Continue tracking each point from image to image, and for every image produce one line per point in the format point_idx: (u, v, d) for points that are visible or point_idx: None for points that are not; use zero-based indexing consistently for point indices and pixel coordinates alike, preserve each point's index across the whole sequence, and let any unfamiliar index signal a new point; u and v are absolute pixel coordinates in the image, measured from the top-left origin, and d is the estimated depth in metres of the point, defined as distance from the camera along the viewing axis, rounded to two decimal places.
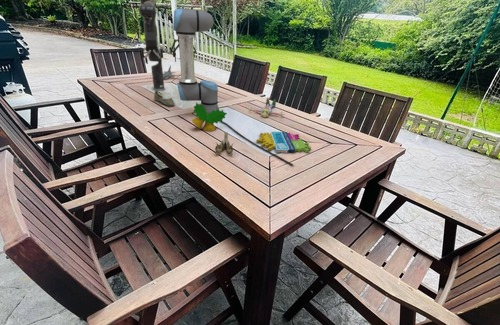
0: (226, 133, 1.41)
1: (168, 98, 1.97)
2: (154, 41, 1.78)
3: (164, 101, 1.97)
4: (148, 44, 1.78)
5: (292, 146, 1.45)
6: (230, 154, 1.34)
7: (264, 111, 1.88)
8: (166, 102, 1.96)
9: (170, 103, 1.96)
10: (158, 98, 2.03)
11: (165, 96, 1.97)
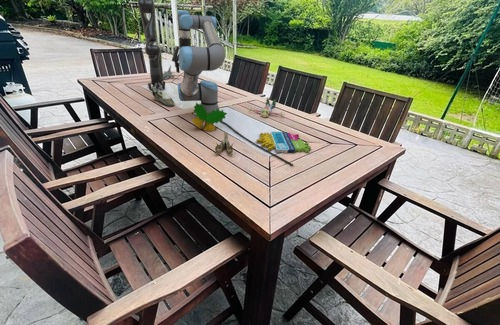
0: (226, 133, 1.41)
1: (168, 98, 1.97)
2: (160, 75, 2.00)
3: (164, 101, 1.97)
4: (156, 78, 1.98)
5: (292, 146, 1.45)
6: (230, 154, 1.34)
7: (264, 111, 1.88)
8: (166, 102, 1.96)
9: (170, 103, 1.96)
10: (158, 98, 2.03)
11: (165, 96, 1.97)
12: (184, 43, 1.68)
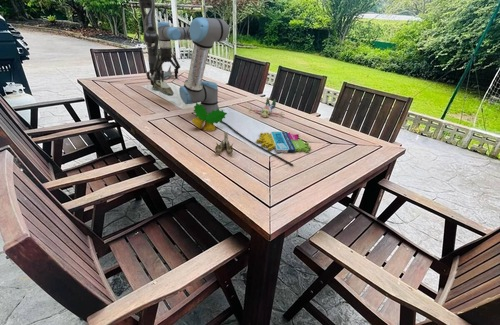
0: (226, 133, 1.41)
1: (167, 87, 1.93)
2: None
3: (163, 90, 1.93)
4: None
5: (292, 146, 1.45)
6: (230, 154, 1.34)
7: (264, 111, 1.88)
8: (164, 92, 1.92)
9: (169, 92, 1.93)
10: (156, 87, 1.99)
11: (164, 85, 1.93)
12: (164, 53, 1.77)
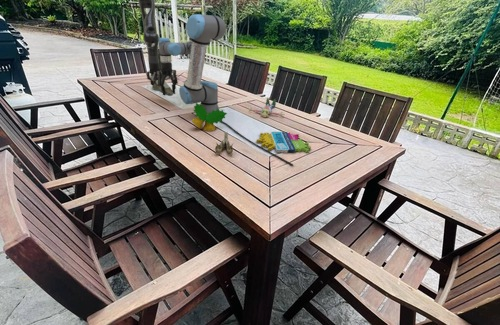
0: (226, 133, 1.41)
1: (167, 87, 1.93)
2: (158, 64, 1.96)
3: None
4: (154, 67, 1.94)
5: (292, 146, 1.45)
6: (230, 154, 1.34)
7: (264, 111, 1.88)
8: None
9: (169, 92, 1.92)
10: (156, 87, 1.99)
11: None
12: (165, 67, 1.82)
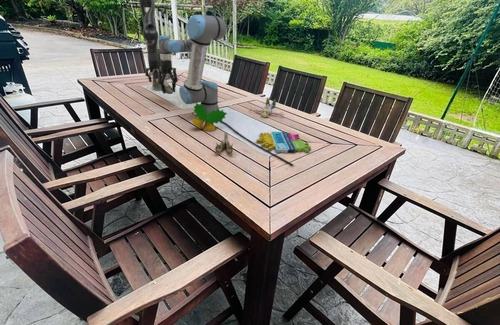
0: (226, 133, 1.41)
1: (167, 85, 1.92)
2: (158, 61, 1.96)
3: None
4: (153, 64, 1.94)
5: (292, 146, 1.45)
6: (230, 154, 1.34)
7: (264, 111, 1.88)
8: None
9: (169, 90, 1.91)
10: (156, 86, 1.98)
11: None
12: (165, 65, 1.81)
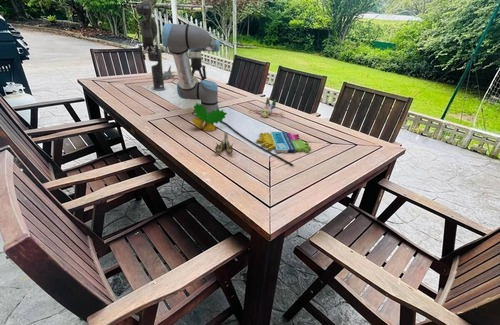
0: (226, 133, 1.41)
1: None
2: (152, 38, 1.91)
3: None
4: (147, 41, 1.89)
5: (292, 146, 1.45)
6: (230, 154, 1.34)
7: (264, 111, 1.88)
8: None
9: None
10: None
11: None
12: (194, 62, 1.90)
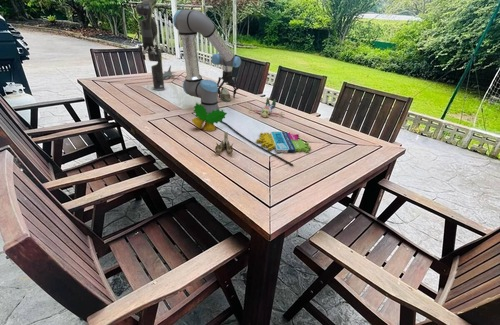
0: (226, 133, 1.41)
1: (226, 94, 2.18)
2: (152, 38, 1.91)
3: (222, 96, 2.19)
4: (147, 41, 1.89)
5: (292, 146, 1.45)
6: (230, 154, 1.34)
7: (264, 111, 1.88)
8: (222, 97, 2.19)
9: (225, 98, 2.17)
10: (221, 93, 2.28)
11: (224, 92, 2.19)
12: (224, 75, 2.07)
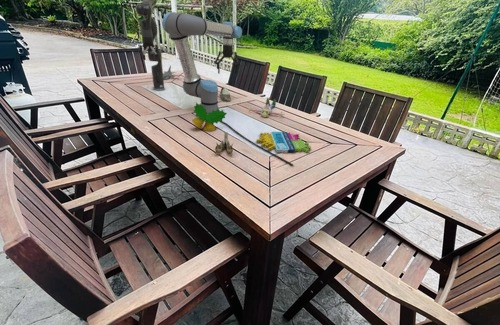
0: (226, 133, 1.41)
1: (226, 94, 2.18)
2: (152, 38, 1.91)
3: (222, 96, 2.19)
4: (147, 41, 1.89)
5: (292, 146, 1.45)
6: (230, 154, 1.34)
7: (264, 111, 1.88)
8: (222, 97, 2.19)
9: (225, 98, 2.17)
10: (221, 93, 2.28)
11: (224, 92, 2.19)
12: (225, 49, 1.97)
